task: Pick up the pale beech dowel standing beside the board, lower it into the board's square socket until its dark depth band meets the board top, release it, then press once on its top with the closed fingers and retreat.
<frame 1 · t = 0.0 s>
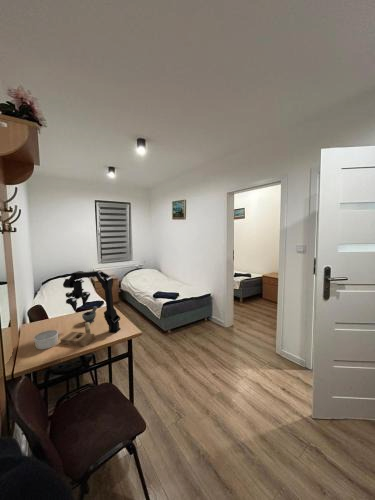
hand: (79, 308, 156), 15 cm above the table, fingers open, 9 cm apart
board: (78, 340, 139), on the table
peg: (88, 333, 147), on the table
mortar and pestle: (90, 321, 166), on the table
ramekin: (47, 345, 135), on the table
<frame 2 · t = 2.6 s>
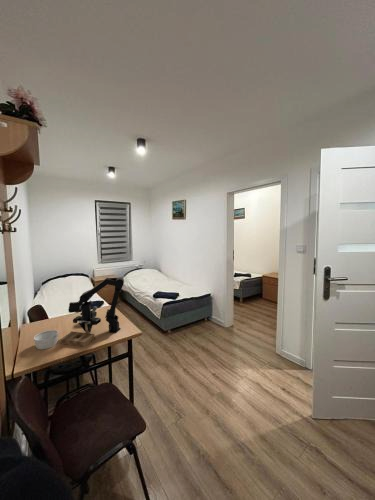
hand: (87, 331, 147), 2 cm above the table, fingers closed on peg, 3 cm apart
peg: (87, 333, 147), on the table, touching gripper
everything else where it was.
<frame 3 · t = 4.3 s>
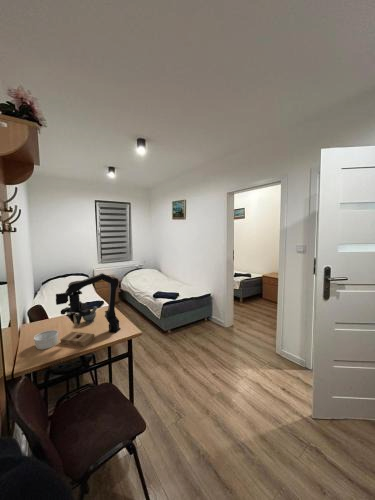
hand: (76, 324, 137), 12 cm above the table, fingers closed on peg, 3 cm apart
peg: (76, 326, 138), point 10 cm above the table, touching gripper
everything else where it was.
when the fingers open (3 cm above the table, at t = 6.0 s): peg drops 2 cm, resting in board.
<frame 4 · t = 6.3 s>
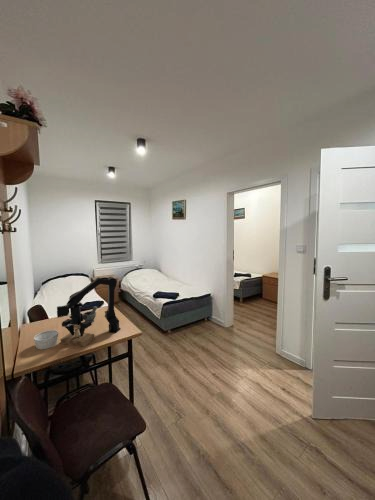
hand: (77, 335, 138), 3 cm above the table, fingers open, 7 cm apart
peg: (78, 340, 139), resting in board
everything else where it was.
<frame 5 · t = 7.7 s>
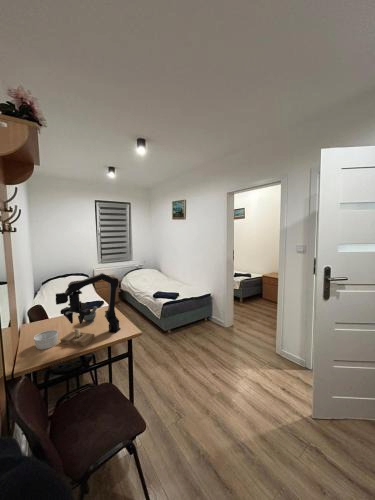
hand: (76, 323, 137), 12 cm above the table, fingers open, 7 cm apart
nothing on the table moved.
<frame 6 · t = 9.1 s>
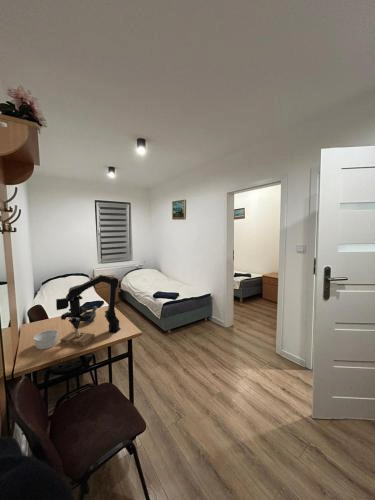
hand: (77, 328, 138), 8 cm above the table, fingers closed
nothing on the table moved.
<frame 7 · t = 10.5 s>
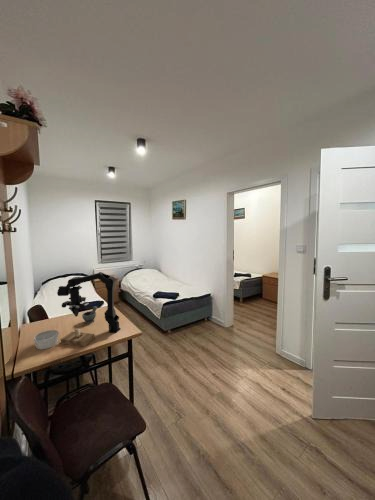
hand: (76, 316, 148), 12 cm above the table, fingers closed
nothing on the table moved.
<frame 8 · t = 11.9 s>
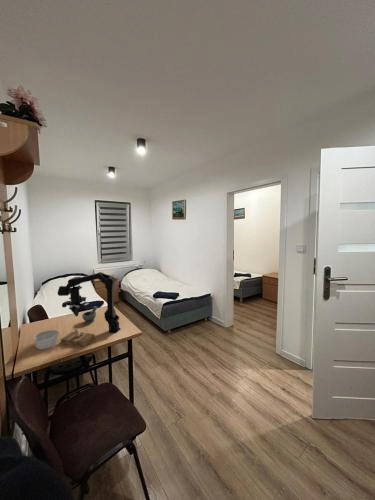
hand: (76, 316, 149), 12 cm above the table, fingers closed
nothing on the table moved.
at the end: peg 0.0 cm off-centre on the board, point 0.0 cm above the board's base; peg tilted 0°; the gripper is holding nothing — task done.
